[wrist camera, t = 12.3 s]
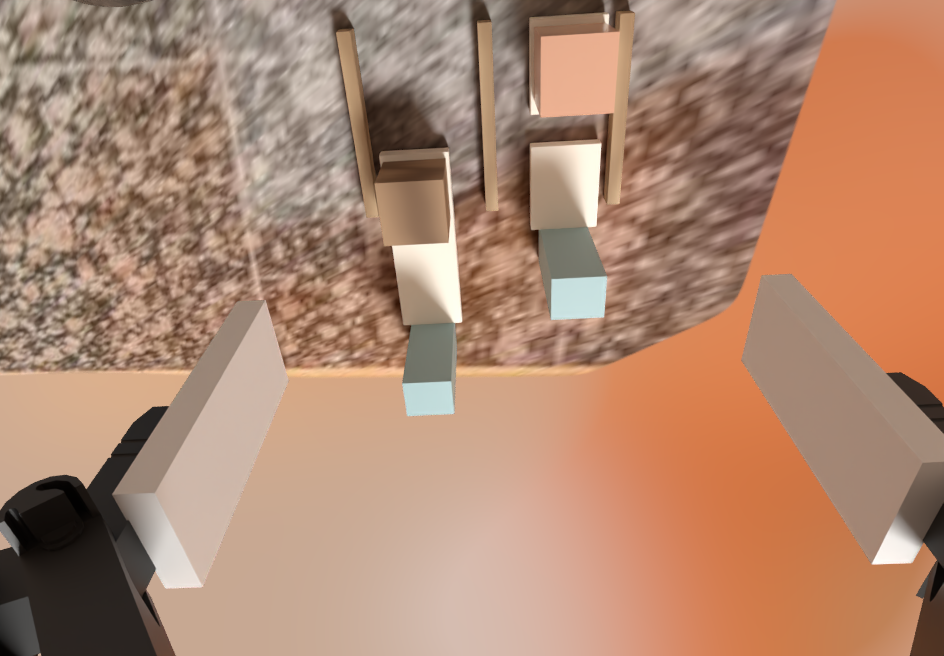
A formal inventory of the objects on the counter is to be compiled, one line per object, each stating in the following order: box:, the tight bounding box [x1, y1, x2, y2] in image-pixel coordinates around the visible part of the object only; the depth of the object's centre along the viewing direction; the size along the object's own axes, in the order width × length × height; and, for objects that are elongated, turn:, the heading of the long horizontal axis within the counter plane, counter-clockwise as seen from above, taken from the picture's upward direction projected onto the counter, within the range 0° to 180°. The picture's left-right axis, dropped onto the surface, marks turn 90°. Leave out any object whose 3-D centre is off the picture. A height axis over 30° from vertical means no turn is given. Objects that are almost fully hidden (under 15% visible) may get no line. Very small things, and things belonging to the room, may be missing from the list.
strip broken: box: [529, 12, 609, 320], centre depth 44 cm, size 6×20×10 cm, turn 3°
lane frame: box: [336, 11, 635, 218], centre depth 46 cm, size 21×14×2 cm, turn 93°
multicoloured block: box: [379, 147, 462, 416], centre depth 49 cm, size 6×20×10 cm, turn 3°
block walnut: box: [374, 158, 451, 246], centre depth 47 cm, size 5×5×5 cm
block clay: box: [534, 22, 620, 117], centre depth 41 cm, size 5×5×5 cm
